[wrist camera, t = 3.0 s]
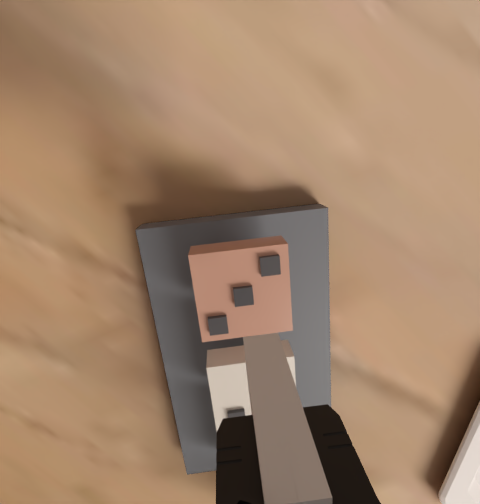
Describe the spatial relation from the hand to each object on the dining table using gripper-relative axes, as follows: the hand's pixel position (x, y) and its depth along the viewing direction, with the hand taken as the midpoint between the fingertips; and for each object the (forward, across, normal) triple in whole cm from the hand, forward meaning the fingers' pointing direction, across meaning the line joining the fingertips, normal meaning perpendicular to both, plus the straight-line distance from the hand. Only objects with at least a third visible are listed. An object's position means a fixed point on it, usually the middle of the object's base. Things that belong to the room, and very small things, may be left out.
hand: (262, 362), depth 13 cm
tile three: (+8, 0, 0) cm, 8 cm away
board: (+13, 0, -8) cm, 15 cm away
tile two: (+8, 0, -8) cm, 11 cm away
